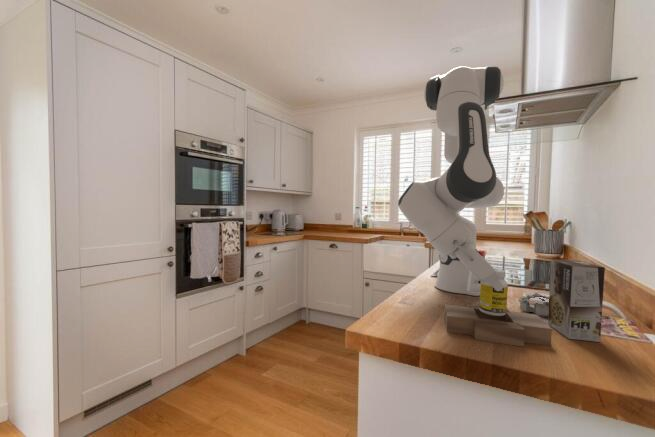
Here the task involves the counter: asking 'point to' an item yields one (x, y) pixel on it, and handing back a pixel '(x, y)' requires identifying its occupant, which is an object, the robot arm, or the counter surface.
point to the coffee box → (576, 299)
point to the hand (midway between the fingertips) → (497, 285)
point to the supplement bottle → (494, 296)
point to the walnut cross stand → (497, 325)
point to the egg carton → (537, 308)
